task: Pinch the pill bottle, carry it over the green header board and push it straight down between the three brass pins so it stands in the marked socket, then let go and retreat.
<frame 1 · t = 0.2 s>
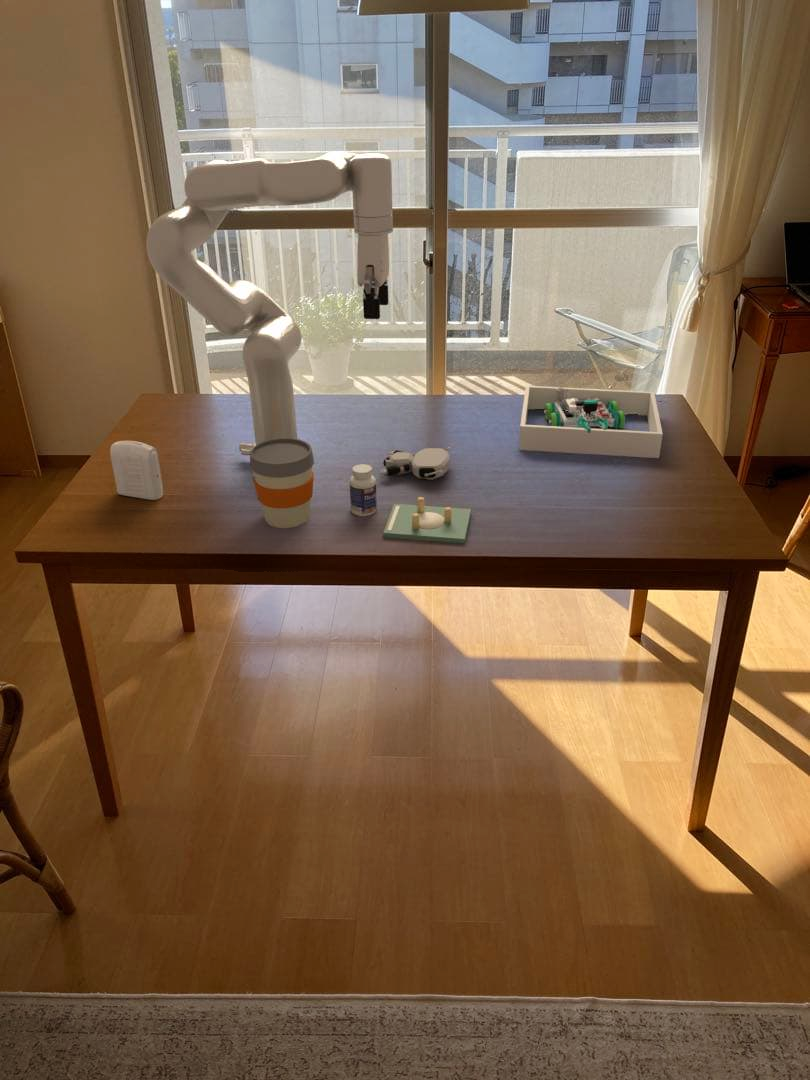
hand: (376, 311, 178), 36 cm above the table, tool pointing down, fingers open, 9 cm apart
pill bottle: (364, 511, 181), on the table
robot kit: (587, 431, 213), resting in storage frame
reusable coffee cup: (287, 518, 179), on the table
storage frame: (587, 431, 214), on the table
header board: (428, 524, 175), on the table
photo printer: (141, 495, 188), on the table
robot toy: (416, 473, 196), on the table
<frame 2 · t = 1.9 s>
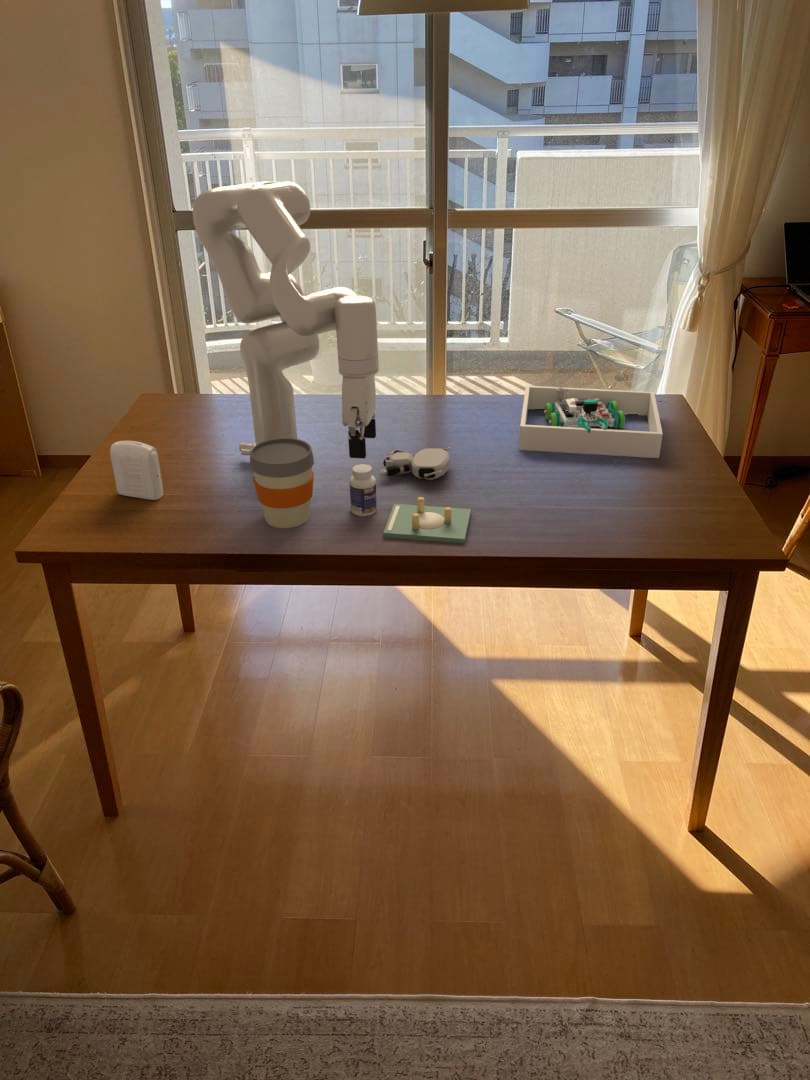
hand: (363, 447, 173), 15 cm above the table, tool pointing down, fingers open, 9 cm apart
nothing on the table moved.
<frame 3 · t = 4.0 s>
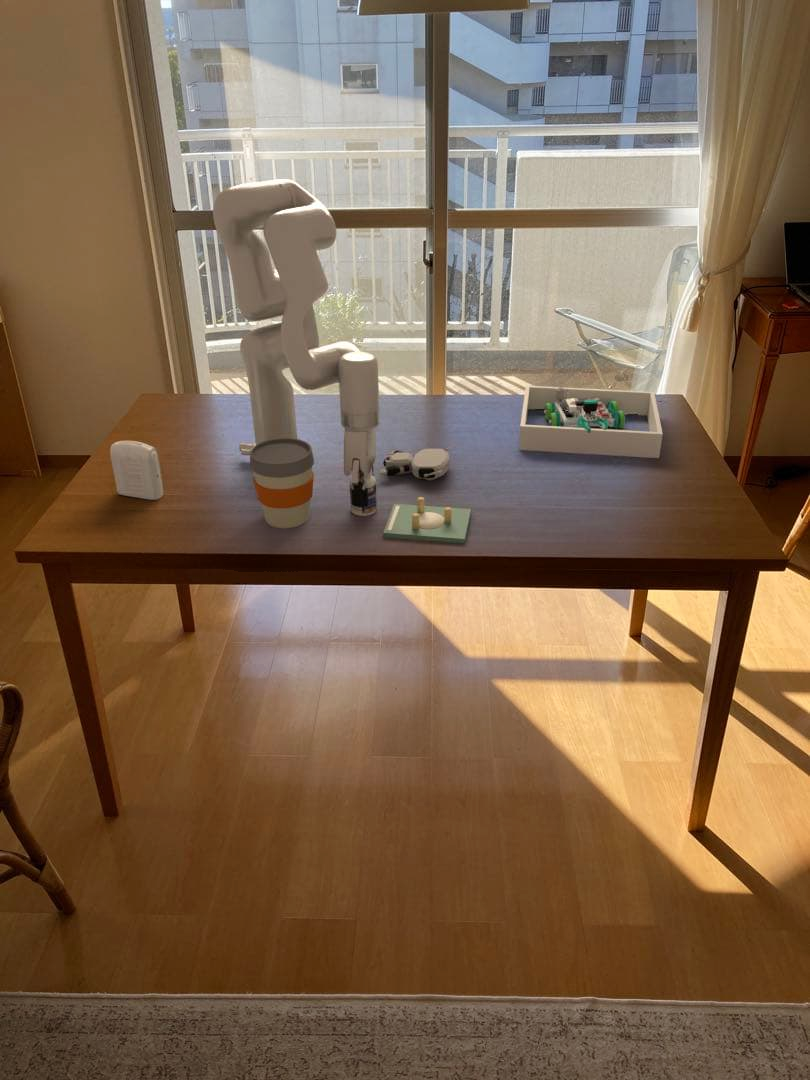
hand: (363, 497, 179), 3 cm above the table, tool pointing down, fingers closed on pill bottle, 5 cm apart
pill bottle: (364, 511, 181), on the table, touching gripper
everything else where it was.
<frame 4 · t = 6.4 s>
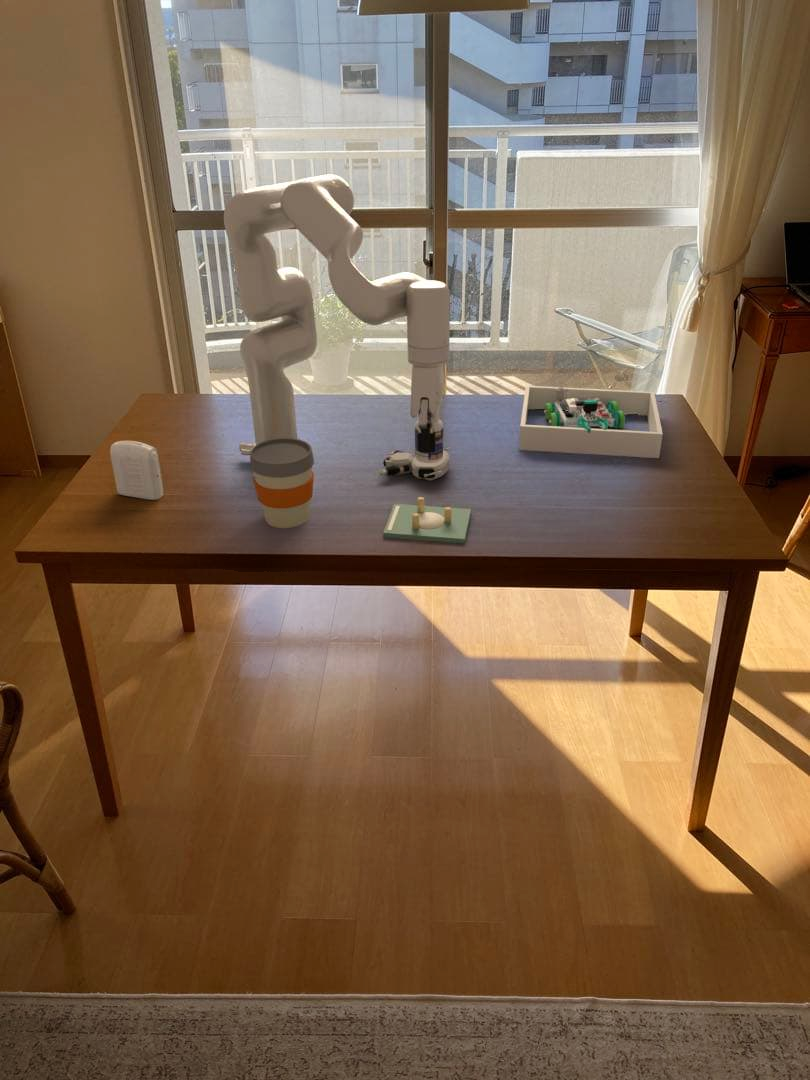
hand: (429, 443, 166), 18 cm above the table, tool pointing down, fingers closed on pill bottle, 5 cm apart
pill bottle: (429, 458, 168), point 15 cm above the table, touching gripper
everything else where it was.
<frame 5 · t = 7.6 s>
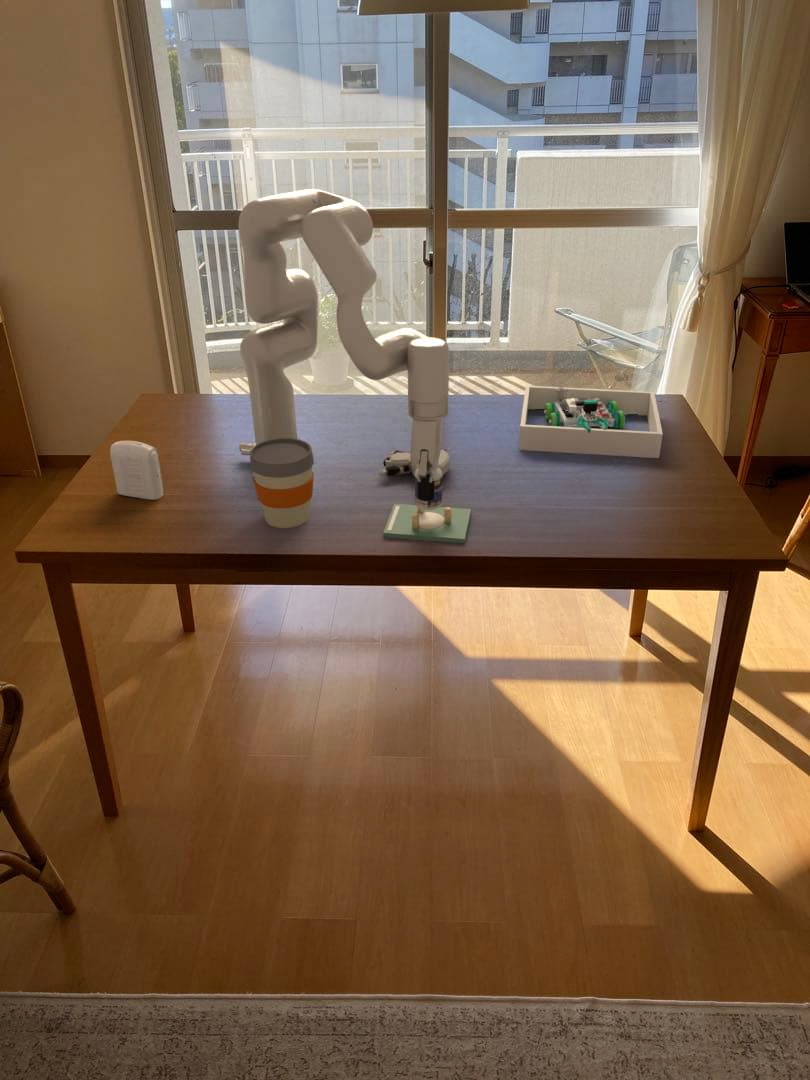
hand: (428, 491, 171), 8 cm above the table, tool pointing down, fingers closed on pill bottle, 5 cm apart
pill bottle: (428, 505, 173), point 5 cm above the table, touching gripper
everything else where it was.
when the fingers open (6 cm above the table, at t = 8.8 s): pill bottle drops 1 cm, resting on header board.
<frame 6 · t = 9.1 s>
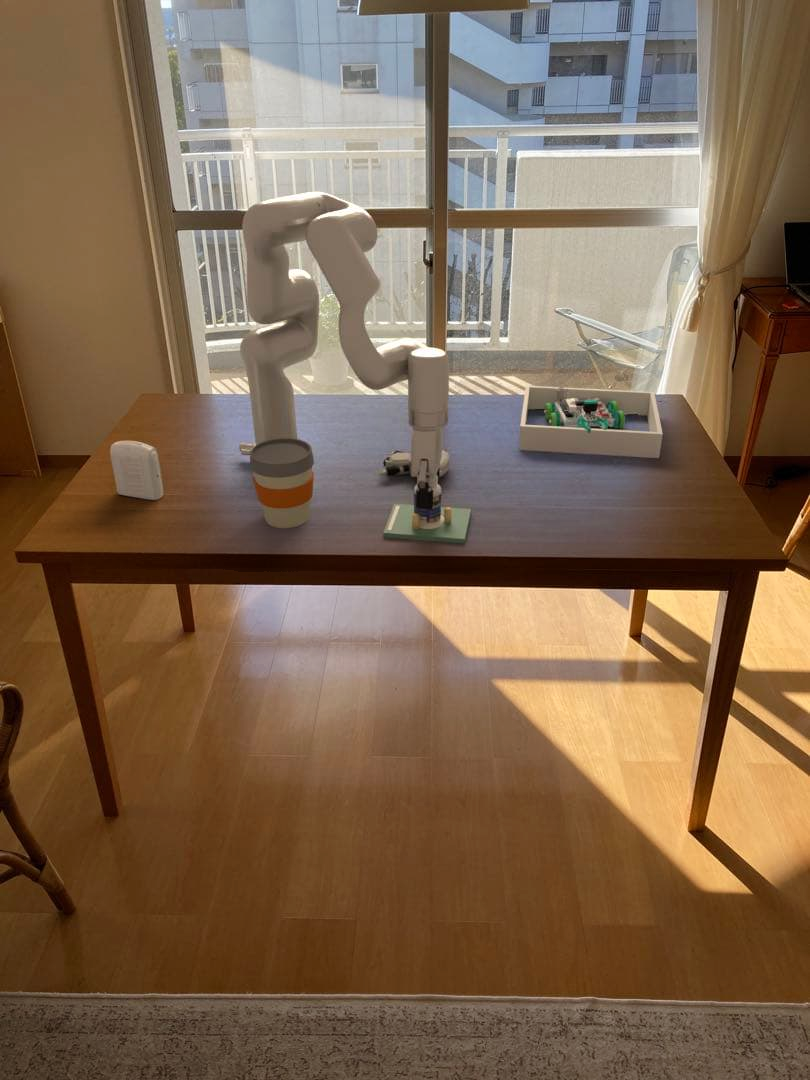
hand: (428, 496, 172), 6 cm above the table, tool pointing down, fingers open, 8 cm apart
pill bottle: (427, 520, 175), point 1 cm above the table, touching header board
everything else where it was.
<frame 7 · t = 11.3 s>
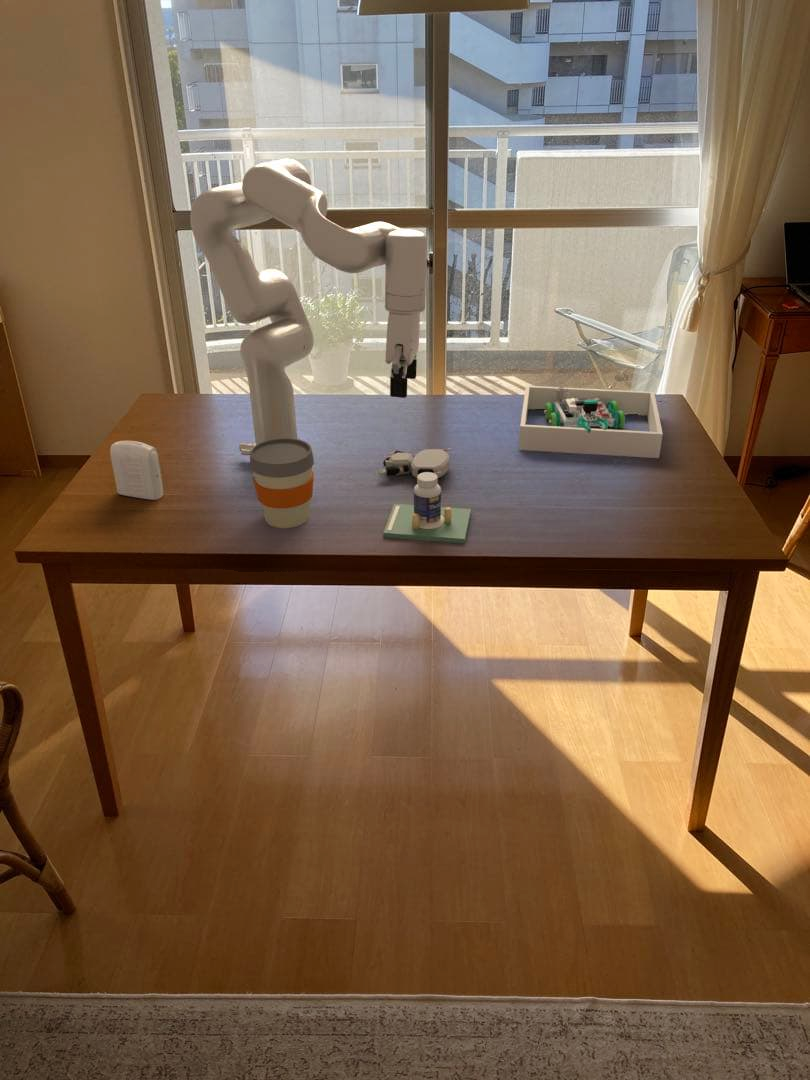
hand: (403, 387, 171), 25 cm above the table, tool pointing down, fingers open, 9 cm apart
nothing on the table moved.
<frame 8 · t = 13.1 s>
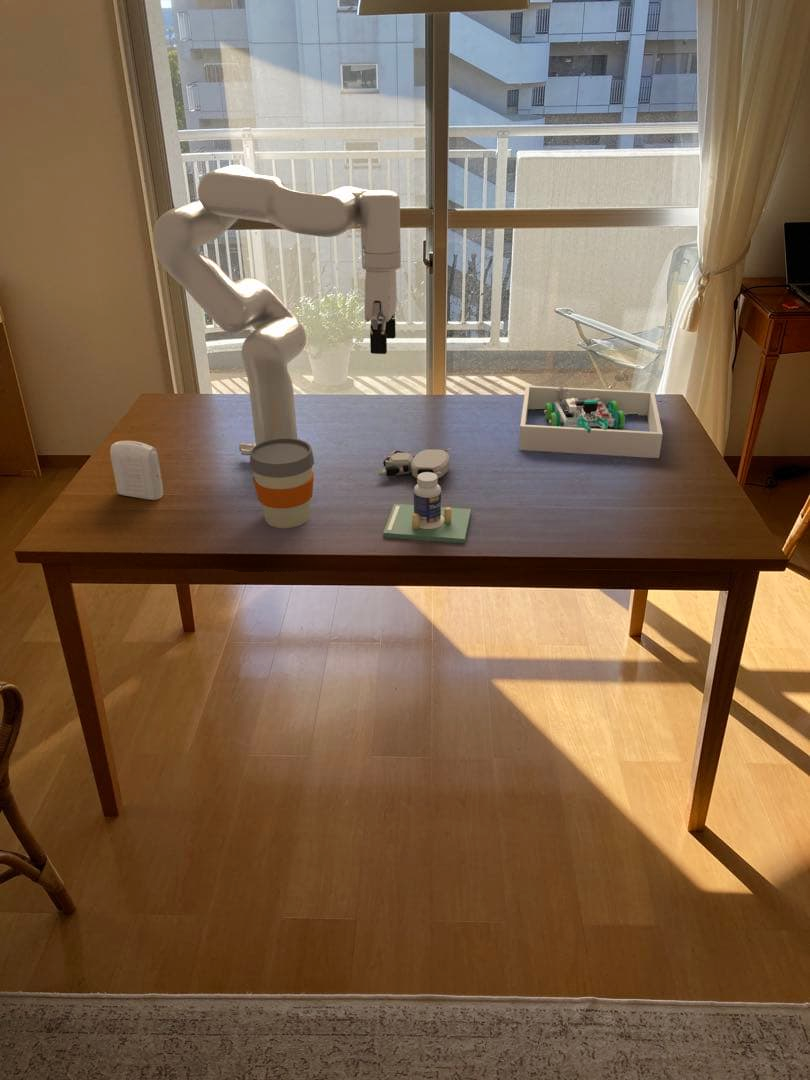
hand: (383, 345, 178), 30 cm above the table, tool pointing down, fingers open, 9 cm apart
nothing on the table moved.
at the end: pill bottle 0.1 cm off-centre on the header board, point 0.9 cm above the header board's base; pill bottle tilted 0°; the gripper is holding nothing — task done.
